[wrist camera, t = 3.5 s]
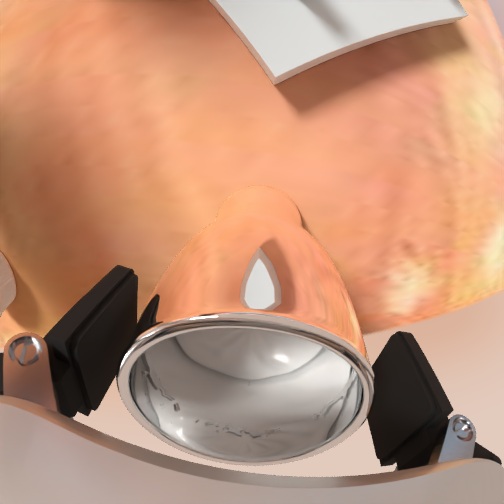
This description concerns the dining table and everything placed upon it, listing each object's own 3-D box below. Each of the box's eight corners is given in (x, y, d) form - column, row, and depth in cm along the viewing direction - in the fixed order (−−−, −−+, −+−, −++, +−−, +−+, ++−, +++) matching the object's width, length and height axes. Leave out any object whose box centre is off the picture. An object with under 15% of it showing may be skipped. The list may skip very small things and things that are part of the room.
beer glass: (191, 236, 20) (85, 403, 6) (248, 158, 18) (190, 222, 4) (267, 288, 22) (265, 480, 8) (327, 219, 19) (431, 387, 5)
